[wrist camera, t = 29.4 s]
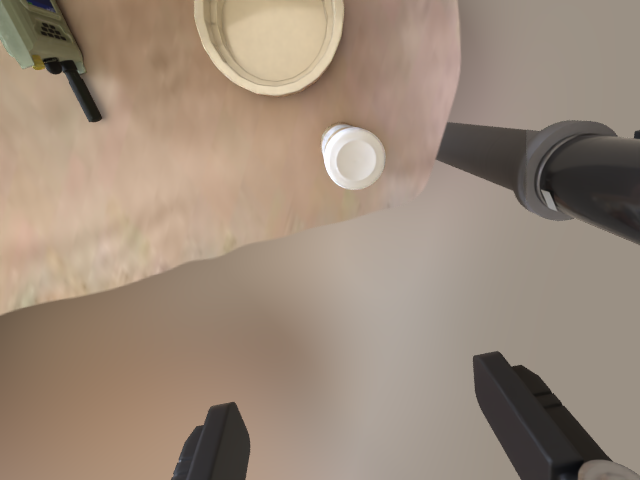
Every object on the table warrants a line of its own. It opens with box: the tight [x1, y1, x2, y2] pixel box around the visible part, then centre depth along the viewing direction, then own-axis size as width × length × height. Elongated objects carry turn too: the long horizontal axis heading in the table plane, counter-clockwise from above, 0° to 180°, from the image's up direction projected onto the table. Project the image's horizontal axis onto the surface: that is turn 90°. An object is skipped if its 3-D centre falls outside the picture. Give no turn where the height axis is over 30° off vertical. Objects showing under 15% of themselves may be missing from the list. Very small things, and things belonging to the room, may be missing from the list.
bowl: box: [194, 0, 344, 97], centre depth 31 cm, size 13×13×5 cm
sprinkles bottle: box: [320, 123, 386, 190], centre depth 31 cm, size 5×5×14 cm
